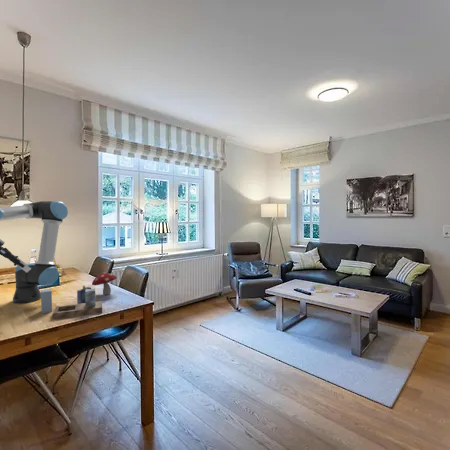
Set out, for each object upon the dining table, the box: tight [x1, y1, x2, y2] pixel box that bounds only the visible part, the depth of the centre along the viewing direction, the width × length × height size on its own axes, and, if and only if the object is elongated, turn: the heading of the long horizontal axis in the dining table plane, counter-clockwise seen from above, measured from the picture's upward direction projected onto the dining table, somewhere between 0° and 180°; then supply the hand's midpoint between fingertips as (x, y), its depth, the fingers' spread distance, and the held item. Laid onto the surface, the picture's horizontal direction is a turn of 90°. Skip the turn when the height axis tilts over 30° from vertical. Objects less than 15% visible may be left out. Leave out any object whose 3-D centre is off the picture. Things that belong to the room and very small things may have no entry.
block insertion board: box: [52, 288, 103, 320], centre depth 160 cm, size 24×12×12 cm, turn 114°
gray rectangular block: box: [40, 288, 53, 314], centre depth 161 cm, size 5×5×12 cm
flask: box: [76, 285, 92, 304], centre depth 176 cm, size 9×3×11 cm, turn 151°
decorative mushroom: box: [91, 272, 118, 295], centre depth 194 cm, size 16×16×15 cm
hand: (27, 268), depth 155 cm, fingers open, 13 cm apart
